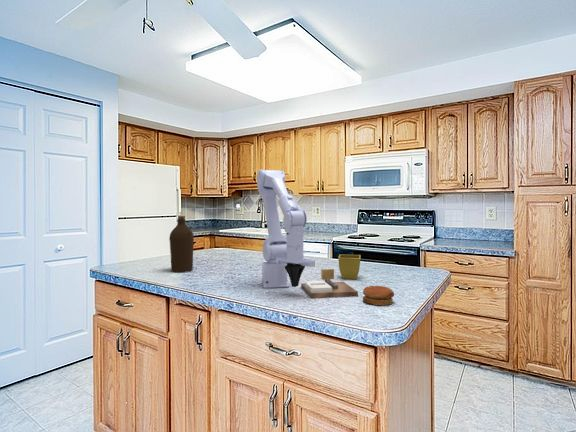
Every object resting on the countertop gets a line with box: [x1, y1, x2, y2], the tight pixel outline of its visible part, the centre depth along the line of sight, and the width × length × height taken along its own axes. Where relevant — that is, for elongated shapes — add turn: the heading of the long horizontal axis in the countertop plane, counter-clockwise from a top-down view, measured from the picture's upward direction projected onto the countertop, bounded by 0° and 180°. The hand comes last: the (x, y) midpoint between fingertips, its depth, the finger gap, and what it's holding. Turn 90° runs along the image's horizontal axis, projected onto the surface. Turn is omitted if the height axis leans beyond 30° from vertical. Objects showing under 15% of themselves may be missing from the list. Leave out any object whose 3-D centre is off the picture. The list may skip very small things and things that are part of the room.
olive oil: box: [168, 215, 195, 273], centre depth 163 cm, size 11×11×25 cm
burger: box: [362, 285, 395, 306], centre depth 111 cm, size 10×9×5 cm
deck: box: [300, 281, 359, 299], centre depth 124 cm, size 16×15×2 cm
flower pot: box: [337, 254, 361, 280], centre depth 147 cm, size 9×9×9 cm
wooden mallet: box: [320, 268, 338, 289], centre depth 126 cm, size 4×10×5 cm, turn 13°
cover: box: [304, 280, 332, 293], centre depth 122 cm, size 7×10×2 cm
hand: (295, 286), depth 120 cm, fingers closed
